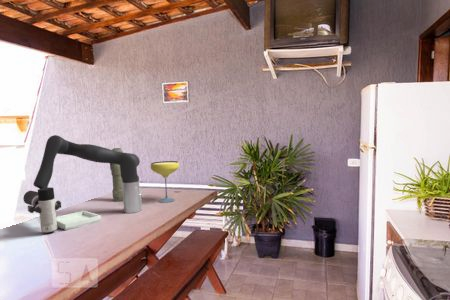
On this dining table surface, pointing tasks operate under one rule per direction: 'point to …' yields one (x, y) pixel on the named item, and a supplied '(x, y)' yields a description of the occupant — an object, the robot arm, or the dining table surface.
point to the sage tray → (77, 220)
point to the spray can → (47, 209)
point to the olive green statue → (117, 180)
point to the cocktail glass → (165, 173)
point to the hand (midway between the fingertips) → (48, 209)
